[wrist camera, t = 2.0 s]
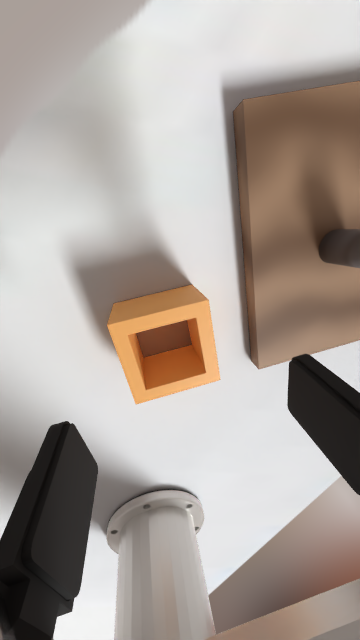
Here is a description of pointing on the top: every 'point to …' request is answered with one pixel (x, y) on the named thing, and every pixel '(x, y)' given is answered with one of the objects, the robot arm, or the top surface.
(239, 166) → the board
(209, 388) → the top surface
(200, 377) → the orange square ring
